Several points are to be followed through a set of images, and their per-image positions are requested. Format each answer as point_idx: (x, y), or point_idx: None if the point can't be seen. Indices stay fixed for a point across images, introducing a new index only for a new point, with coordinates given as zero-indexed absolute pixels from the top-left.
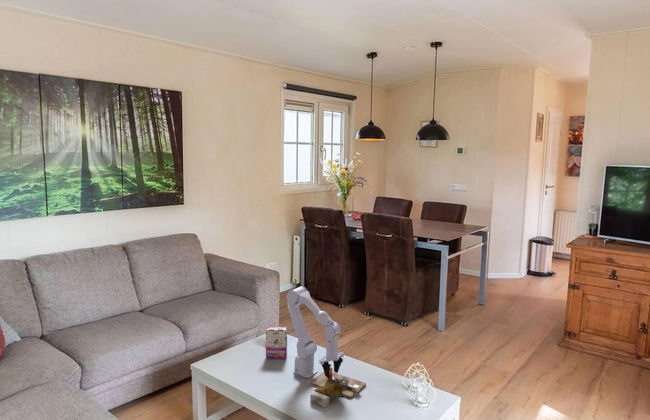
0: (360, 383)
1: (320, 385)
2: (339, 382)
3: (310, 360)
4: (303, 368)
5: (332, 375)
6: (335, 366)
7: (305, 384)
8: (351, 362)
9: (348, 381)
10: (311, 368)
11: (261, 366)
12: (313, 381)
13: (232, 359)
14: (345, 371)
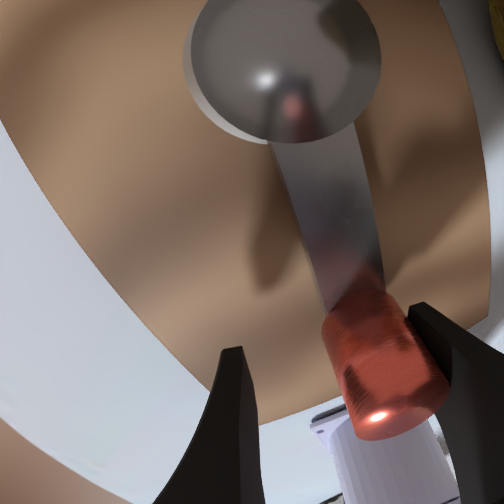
0: (13, 39)
1: (485, 229)
2: (368, 91)
3: (431, 499)
4: (437, 441)
5: (250, 355)
6: (253, 449)
7: (488, 310)
8: (17, 416)
9: (203, 10)
10: (397, 444)
11: (446, 456)
12: (468, 314)
13: (454, 473)
14: (74, 369)
